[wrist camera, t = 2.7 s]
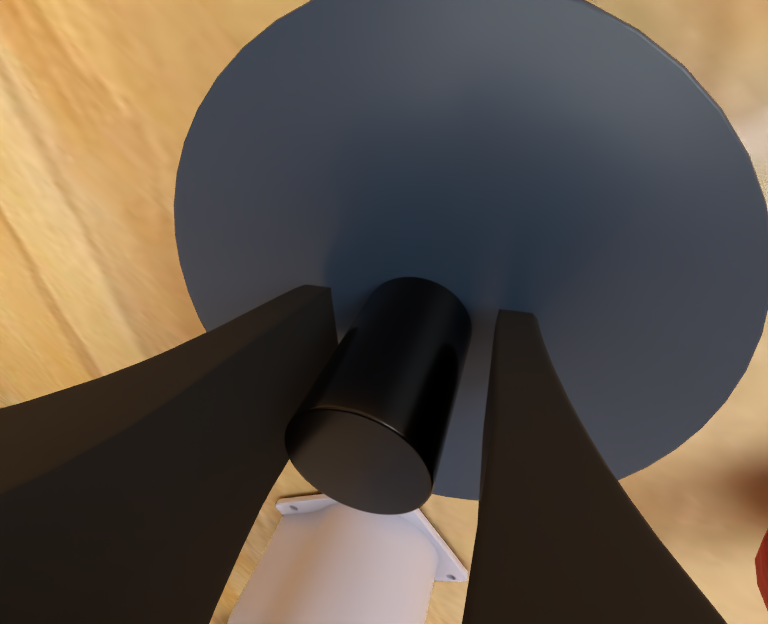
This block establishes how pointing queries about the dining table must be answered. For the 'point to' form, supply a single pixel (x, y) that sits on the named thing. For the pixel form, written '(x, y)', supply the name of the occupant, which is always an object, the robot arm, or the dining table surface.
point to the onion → (763, 568)
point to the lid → (476, 228)
